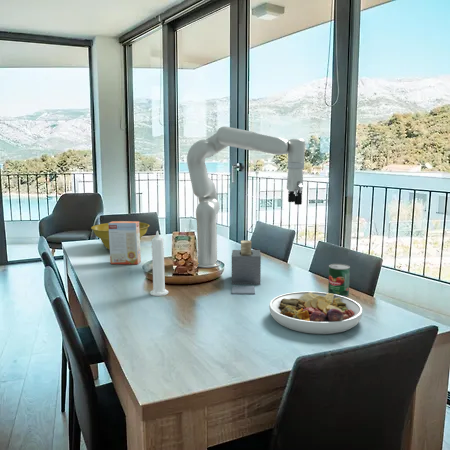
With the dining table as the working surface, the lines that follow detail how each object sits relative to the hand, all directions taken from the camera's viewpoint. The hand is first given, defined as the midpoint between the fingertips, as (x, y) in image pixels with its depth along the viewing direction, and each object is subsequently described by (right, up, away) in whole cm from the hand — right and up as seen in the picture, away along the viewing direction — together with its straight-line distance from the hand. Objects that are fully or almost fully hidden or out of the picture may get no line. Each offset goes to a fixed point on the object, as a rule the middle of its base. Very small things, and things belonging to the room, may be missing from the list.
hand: (294, 203), depth 211 cm
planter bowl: (-91, -24, +47) cm, 105 cm away
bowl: (-3, -42, -60) cm, 73 cm away
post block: (-23, -34, -16) cm, 44 cm away
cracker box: (-82, -29, +15) cm, 88 cm away
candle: (-58, -37, -33) cm, 77 cm away
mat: (-25, -36, -30) cm, 53 cm away
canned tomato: (+12, -37, -34) cm, 52 cm away
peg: (-23, -27, -17) cm, 40 cm away
